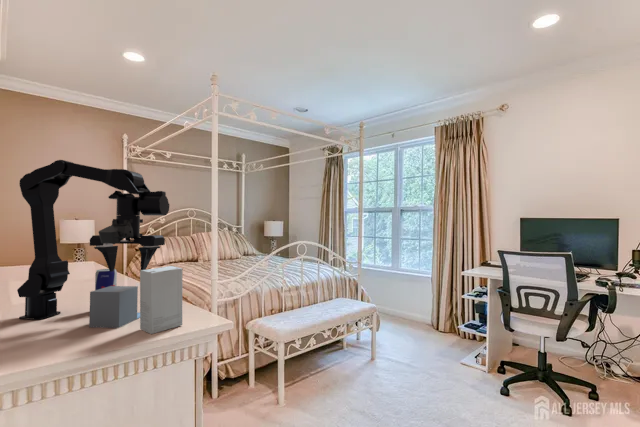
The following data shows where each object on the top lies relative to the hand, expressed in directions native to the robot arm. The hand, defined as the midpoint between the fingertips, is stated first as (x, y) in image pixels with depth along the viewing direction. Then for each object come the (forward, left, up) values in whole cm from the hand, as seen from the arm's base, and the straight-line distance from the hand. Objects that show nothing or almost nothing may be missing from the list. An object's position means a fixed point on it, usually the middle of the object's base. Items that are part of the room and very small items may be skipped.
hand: (127, 271), depth 92 cm
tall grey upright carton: (+15, -8, -13) cm, 21 cm away
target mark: (0, 0, -12) cm, 12 cm away
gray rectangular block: (0, -5, -12) cm, 14 cm away
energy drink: (-11, +6, -13) cm, 18 cm away
